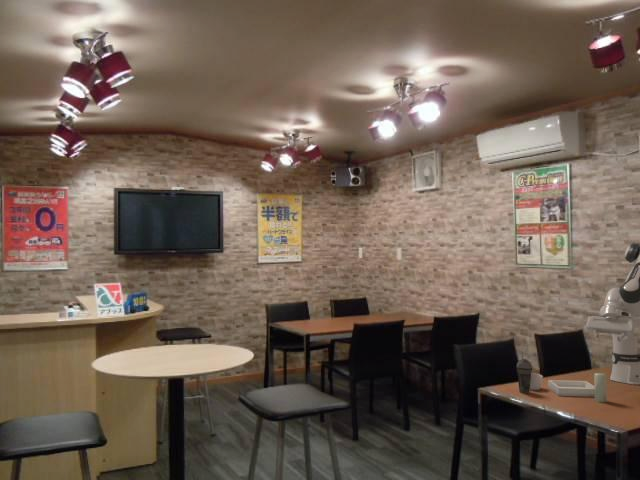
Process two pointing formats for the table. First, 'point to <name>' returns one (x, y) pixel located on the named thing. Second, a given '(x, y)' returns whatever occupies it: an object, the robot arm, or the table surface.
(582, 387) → the tray
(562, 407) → the table surface
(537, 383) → the candle
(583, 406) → the table surface
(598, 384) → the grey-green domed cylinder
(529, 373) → the beverage cup
